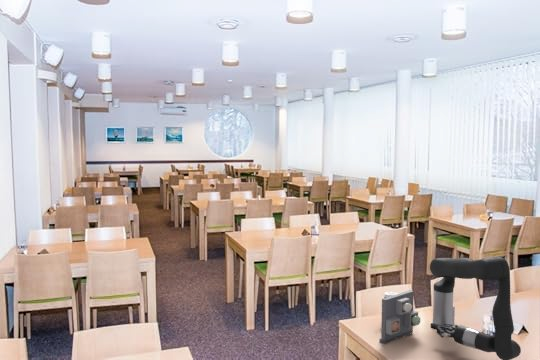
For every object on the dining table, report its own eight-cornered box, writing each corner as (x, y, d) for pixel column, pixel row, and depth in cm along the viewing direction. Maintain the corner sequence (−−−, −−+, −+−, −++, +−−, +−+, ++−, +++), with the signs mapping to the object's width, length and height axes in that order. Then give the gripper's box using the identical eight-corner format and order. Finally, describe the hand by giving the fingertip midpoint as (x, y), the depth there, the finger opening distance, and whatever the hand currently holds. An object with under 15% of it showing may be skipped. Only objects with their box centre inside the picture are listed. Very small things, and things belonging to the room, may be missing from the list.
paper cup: (399, 324, 239) (399, 296, 238) (383, 322, 241) (384, 295, 240) (398, 318, 247) (398, 291, 246) (383, 317, 248) (383, 290, 247)
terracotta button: (398, 330, 215) (398, 321, 215) (392, 332, 213) (393, 323, 212) (393, 328, 217) (394, 319, 217) (388, 330, 215) (388, 321, 214)
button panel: (418, 334, 225) (419, 292, 224) (390, 346, 212) (391, 301, 211) (407, 330, 230) (408, 289, 229) (379, 342, 217) (380, 298, 216)
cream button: (411, 311, 218) (411, 302, 217) (406, 313, 215) (406, 304, 215) (407, 310, 220) (407, 301, 219) (401, 311, 217) (401, 303, 217)
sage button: (420, 324, 223) (420, 315, 222) (415, 326, 220) (415, 317, 220) (415, 322, 224) (415, 314, 224) (410, 324, 222) (410, 316, 222)
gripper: (476, 324, 206) (439, 313, 220) (460, 332, 198) (423, 320, 211) (475, 341, 207) (439, 329, 220) (459, 349, 199) (422, 337, 212)
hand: (431, 325), depth 216 cm, fingers closed
